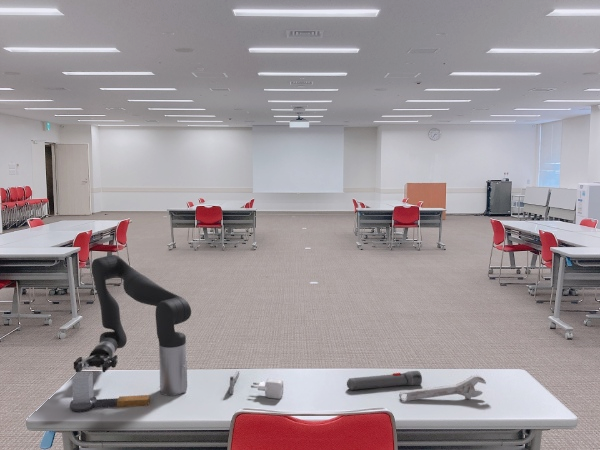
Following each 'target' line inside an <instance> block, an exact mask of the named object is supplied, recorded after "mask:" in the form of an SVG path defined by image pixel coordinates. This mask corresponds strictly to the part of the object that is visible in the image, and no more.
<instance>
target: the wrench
mask: <svg viewBox="0 0 600 450" xmlns="http://www.w3.org/2000/svg"><path fill="white" fill-rule="evenodd" d="M478 383H481V384H484V385H486V384H487V381H486V380H485V379H484V377H482V376H480V375H478V374H474V375H470V376H469V377H467V378H466V379H463V380H462V381H460V382H457V383H456V384H450V385H444V386H433V387H427V388H426V387H425V388H418V389H410V390H402V391H400V392H399V394H398V395H399V399H400V400H401V401H403V402H407V401H408V402H409V401H416V400H422V399H429V398H437V397H445V396H452V395H460V396H463V397H464V399H465V400H468V401H471V398H477V397H479V396H481V395H482V394H483V393H484V392H483V390H481V389H476V388H475V386H476V385H477V384H478ZM403 395H406V396H405V397H404V398H403V397H402V396H403Z"/></svg>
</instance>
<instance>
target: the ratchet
mask: <svg viewBox="0 0 600 450" xmlns="http://www.w3.org/2000/svg"><path fill="white" fill-rule="evenodd" d="M150 401H151V395H150V394H143V395H124V396H123V395H122V396H119V397H117V398H99V399H97V397H96V396H94V397H93V399H92V401H91V402H90V404H79V405H73V399H72V400H71V401H70V402H69V405H70V411H71V412H72V413H85V412H90V411H92V410H94V409H99V408H102V409H103V408H114V407H117V408H125V407H128V408H129V407H143V406H149V404H150Z"/></svg>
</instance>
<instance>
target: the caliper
mask: <svg viewBox="0 0 600 450" xmlns="http://www.w3.org/2000/svg"><path fill="white" fill-rule="evenodd" d="M239 372H240V370H236V372H235V373H234V375H233V376H230V377H229V395H233V394H234V391H235V390H234V388H235V385H236V381H237V379H238V378H239V375H240V373H239Z"/></svg>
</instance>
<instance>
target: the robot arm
mask: <svg viewBox="0 0 600 450" xmlns="http://www.w3.org/2000/svg"><path fill="white" fill-rule="evenodd" d="M91 275H92V277H93V278H92V279H93V282H94V286H95V290H96V293H97V297H98V301H99V306H100V313H101V315H100V316H101V323H102V327H103V328H104V329H106V330H107V329H108V330H111V331H105V332H102V333H101V334H100V336H99V339H98V340H99V341H98V342H99V343H98V344H97V345H96V346H95V347H94V348H93V350H92V351H91V352H90V353H89V356H88V357H86V358H83V357H82V356H79V357H78V358H77V359H75V361H73V370H75V373H77V372H82V370H89V369H90V368H102V369H101V370H102V373H106V371H108V370H109V369H110V368H113V369H114V368H116V366H117V364H118V361H119V359H118V355H115V353H116V351H117V350H118V349H123V348H124V347H125V346H126V344H127V340H128V339H127V334H126V332H125V330H124V328H123V325H122V320H121V314H120V313H121V312H120V306H119V304H118V302H117V300H116V299H115V298H114V296H113V295H112V294H111V293H110V291H109V290H108V289H107V284H106V283H107V282H106V281H107V280H110V279H113V278H120V279H122V280H123V283H122V285H123V290H124V292H125V294H126V295H127V296H129V297H130V298H132V299H133V300H134V301H136V302H138V303H141V304H144V305H147V306H148V305H149V306H153V307H155V325H156V326H155V327H156V336H157V339H158V352H159V353H158V354H159V355H158V356H159V358H158V359H159V392H160V394H162V395H164V396H178V395H181V394H185V393H187V391H188V390H187V388H188V361H187V346H186V345H187V343H186V342H187V340H186V338H187V337H186V334H184V333H183V332H180V331H175V325H179V324H182V323H184V322H187V321H188V320H189V319H190V317H191V315H192V309H191V306H190V303H189V302H188V301H187V300H186V299H185V298H183V297H182V296H180V295H178V294H176V293H173V292H171V291H169V290H167V289H166V288H164V287H162V286H161V285H159V284H158V283H156V282H154V281H153V280H152V279H150V278H148V277H147V276H145V275H144V274H142V273H140V272H139V271H137V270H136V269H134V268H133V267H132V266H131V265H129V264H128V263H127V262H126V261H125V260H124V259H123V258H121V257H120V256H118V255H116V254H110V255H106V256H100V257H98V258H94V260H93V261H92V263H91Z"/></svg>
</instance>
